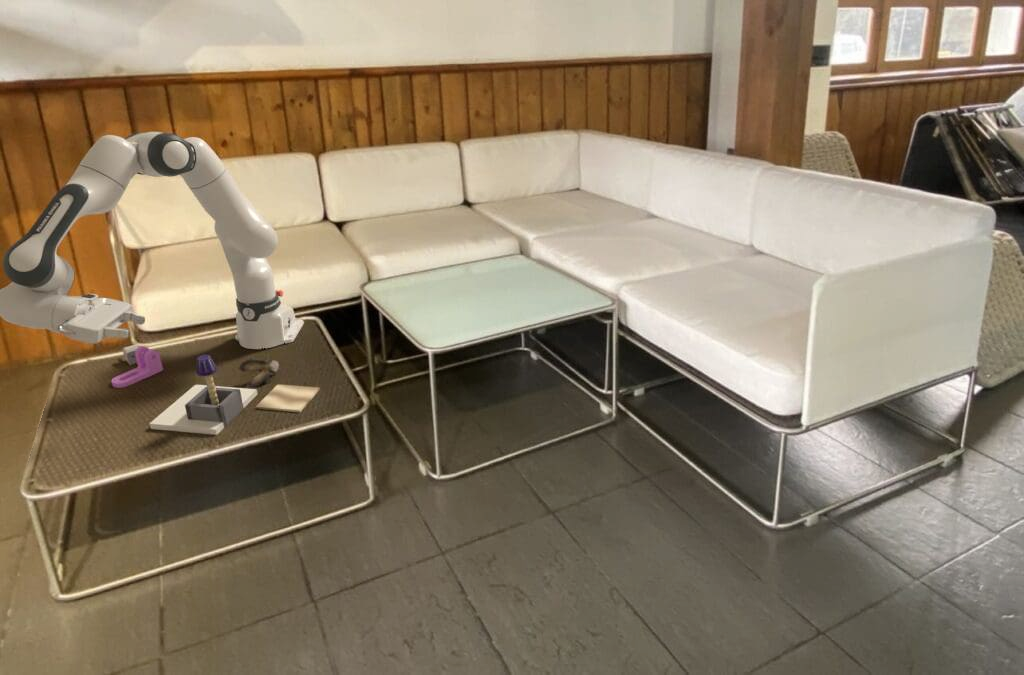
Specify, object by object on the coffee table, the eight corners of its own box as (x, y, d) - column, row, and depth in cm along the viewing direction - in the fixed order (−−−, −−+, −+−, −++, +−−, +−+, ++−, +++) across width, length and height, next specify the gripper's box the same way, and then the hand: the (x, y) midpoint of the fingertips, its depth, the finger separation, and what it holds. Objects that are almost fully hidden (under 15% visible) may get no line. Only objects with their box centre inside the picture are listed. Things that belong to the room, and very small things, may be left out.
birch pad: (277, 386, 201) (277, 384, 201) (319, 389, 199) (319, 387, 198) (256, 408, 190) (255, 406, 190) (300, 412, 188) (299, 410, 188)
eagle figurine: (262, 365, 210) (234, 372, 203) (271, 348, 206) (243, 354, 199) (277, 385, 208) (249, 393, 201) (286, 368, 204) (258, 375, 197)
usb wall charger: (129, 365, 214) (126, 353, 212) (122, 357, 219) (119, 345, 217) (144, 361, 216) (140, 349, 215) (137, 353, 221) (134, 341, 219)
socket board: (196, 389, 200) (192, 371, 198) (257, 394, 197) (254, 375, 195) (150, 428, 182) (145, 409, 180) (216, 434, 179) (212, 415, 177)
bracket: (151, 366, 214) (145, 344, 211) (163, 370, 211) (157, 348, 208) (108, 384, 204) (102, 362, 201) (120, 390, 201) (114, 367, 198)
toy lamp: (220, 422, 185) (207, 361, 178) (203, 420, 185) (189, 360, 178) (230, 412, 189) (218, 353, 182) (213, 410, 190) (200, 351, 183)
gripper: (52, 317, 164) (119, 329, 166) (94, 291, 183) (153, 302, 185) (52, 343, 166) (117, 355, 168) (93, 315, 185) (151, 325, 187)
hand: (136, 327), depth 176 cm, fingers open, 8 cm apart
